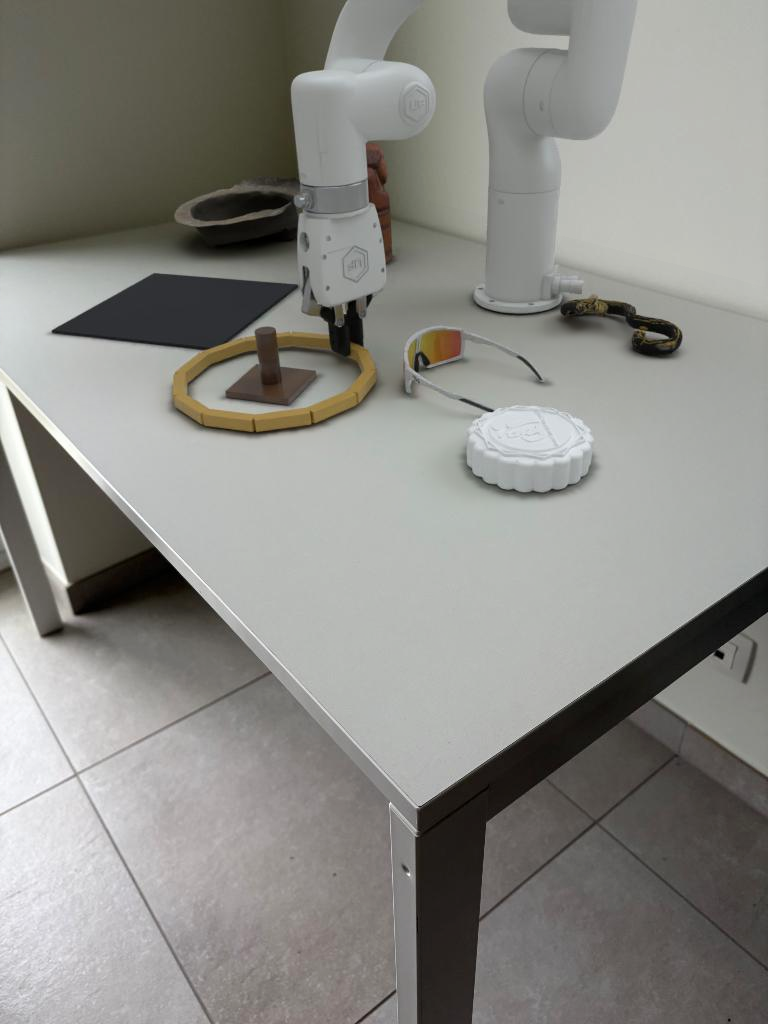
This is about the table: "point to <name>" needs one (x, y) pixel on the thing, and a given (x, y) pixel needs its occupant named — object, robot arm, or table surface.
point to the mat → (179, 311)
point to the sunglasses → (446, 356)
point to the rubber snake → (630, 323)
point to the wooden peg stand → (270, 375)
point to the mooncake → (529, 448)
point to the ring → (280, 417)
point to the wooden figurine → (379, 193)
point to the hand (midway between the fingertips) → (347, 349)
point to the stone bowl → (244, 211)
